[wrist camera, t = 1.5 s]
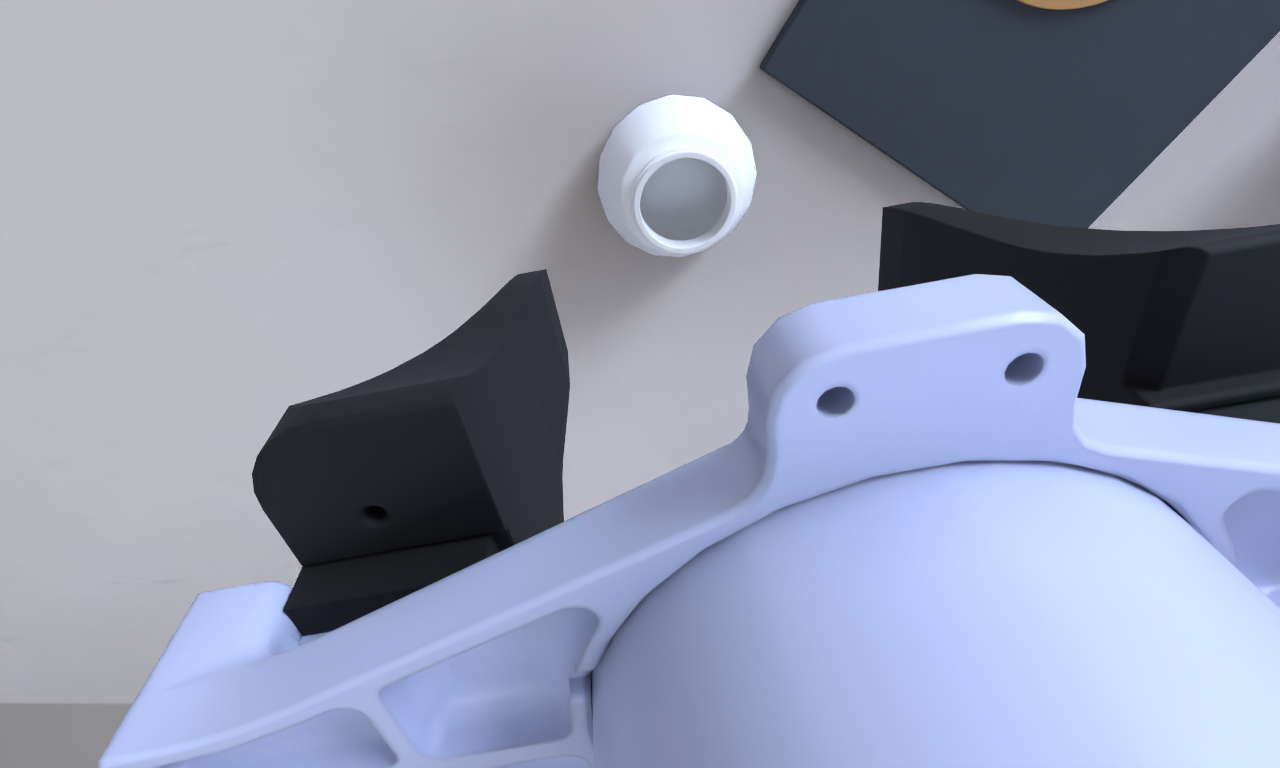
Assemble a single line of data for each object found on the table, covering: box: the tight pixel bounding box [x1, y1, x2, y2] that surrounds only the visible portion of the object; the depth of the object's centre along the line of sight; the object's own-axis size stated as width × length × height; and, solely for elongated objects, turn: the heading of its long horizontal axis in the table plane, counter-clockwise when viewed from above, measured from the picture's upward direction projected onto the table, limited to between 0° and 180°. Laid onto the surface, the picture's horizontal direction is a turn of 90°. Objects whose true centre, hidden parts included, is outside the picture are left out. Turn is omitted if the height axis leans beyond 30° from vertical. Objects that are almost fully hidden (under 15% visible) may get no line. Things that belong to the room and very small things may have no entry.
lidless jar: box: [598, 94, 757, 257], centre depth 20 cm, size 5×3×5 cm
